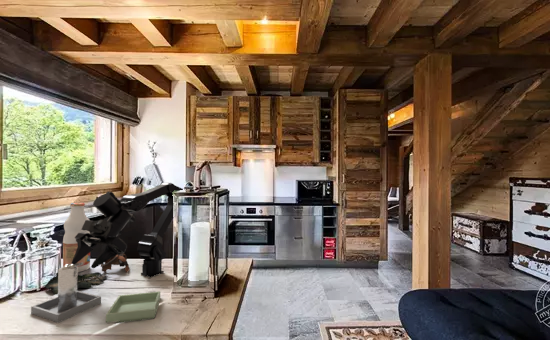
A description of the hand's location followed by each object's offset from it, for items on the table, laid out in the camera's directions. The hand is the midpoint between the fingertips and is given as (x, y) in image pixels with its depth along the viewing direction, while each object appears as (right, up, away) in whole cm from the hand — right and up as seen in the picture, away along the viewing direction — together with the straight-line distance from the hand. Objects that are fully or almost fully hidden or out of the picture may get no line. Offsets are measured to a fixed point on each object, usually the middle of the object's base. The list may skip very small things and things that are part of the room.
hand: (82, 265), depth 87 cm
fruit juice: (-23, -12, +30) cm, 40 cm away
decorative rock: (-11, -13, +14) cm, 22 cm away
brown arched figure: (-5, -12, +29) cm, 32 cm away
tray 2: (+19, -12, -4) cm, 23 cm away
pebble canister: (-2, -11, -4) cm, 12 cm away
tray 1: (-2, -12, -4) cm, 13 cm away
